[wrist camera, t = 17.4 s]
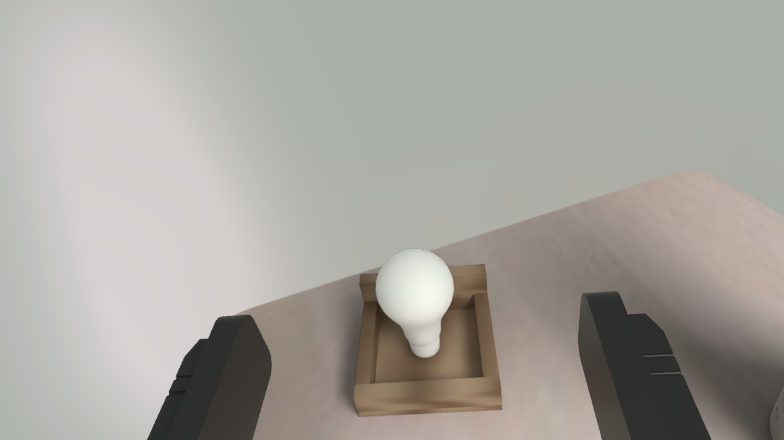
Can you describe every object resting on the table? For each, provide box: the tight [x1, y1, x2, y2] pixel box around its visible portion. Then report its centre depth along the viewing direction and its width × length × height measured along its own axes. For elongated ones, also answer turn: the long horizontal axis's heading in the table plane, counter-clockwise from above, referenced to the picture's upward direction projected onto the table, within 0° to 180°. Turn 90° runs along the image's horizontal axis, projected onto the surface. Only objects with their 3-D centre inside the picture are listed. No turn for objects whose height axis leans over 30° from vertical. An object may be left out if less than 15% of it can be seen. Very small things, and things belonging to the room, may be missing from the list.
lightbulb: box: [376, 248, 454, 358], centre depth 42 cm, size 6×6×11 cm
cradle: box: [353, 264, 502, 417], centre depth 44 cm, size 11×11×5 cm
